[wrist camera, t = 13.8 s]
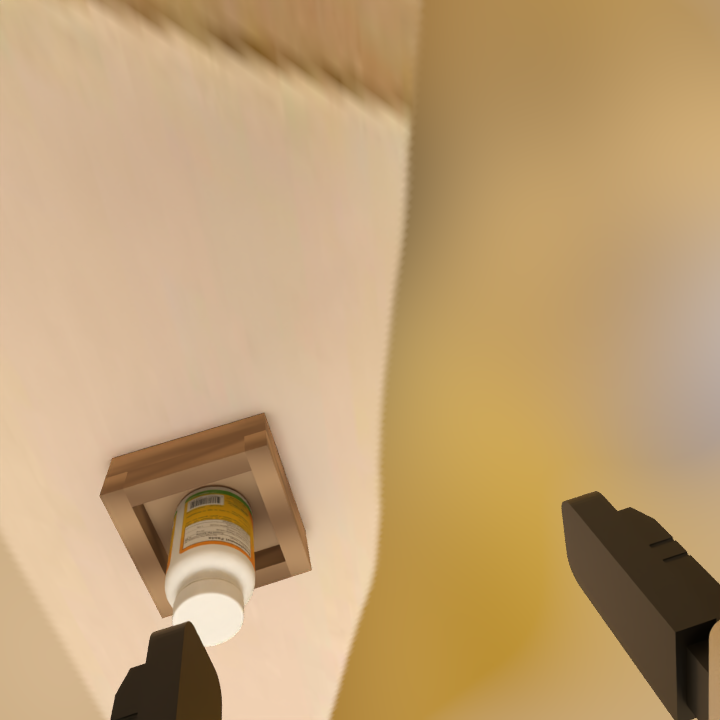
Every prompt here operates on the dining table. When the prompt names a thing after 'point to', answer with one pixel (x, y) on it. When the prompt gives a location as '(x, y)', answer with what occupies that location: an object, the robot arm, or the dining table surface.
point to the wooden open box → (199, 470)
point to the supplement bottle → (211, 563)
